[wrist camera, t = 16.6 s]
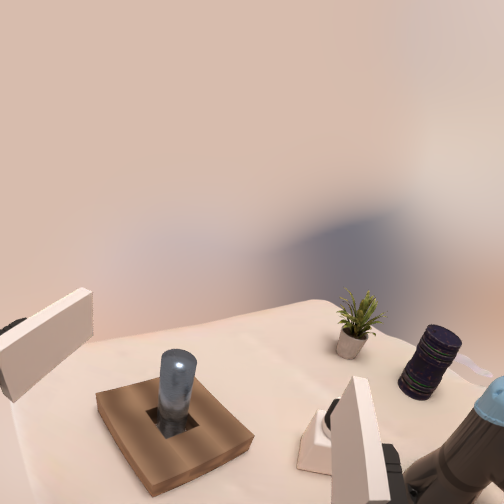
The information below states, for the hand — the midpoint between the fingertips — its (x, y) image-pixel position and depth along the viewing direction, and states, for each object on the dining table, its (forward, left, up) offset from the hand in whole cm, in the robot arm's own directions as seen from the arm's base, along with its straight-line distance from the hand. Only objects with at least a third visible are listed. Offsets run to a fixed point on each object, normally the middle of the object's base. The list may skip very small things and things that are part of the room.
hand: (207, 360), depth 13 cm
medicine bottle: (-24, +3, -28) cm, 37 cm away
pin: (-8, -13, -28) cm, 32 cm away
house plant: (-56, -12, -28) cm, 64 cm away
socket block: (-8, -13, -28) cm, 32 cm away
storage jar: (-58, +9, -28) cm, 65 cm away
